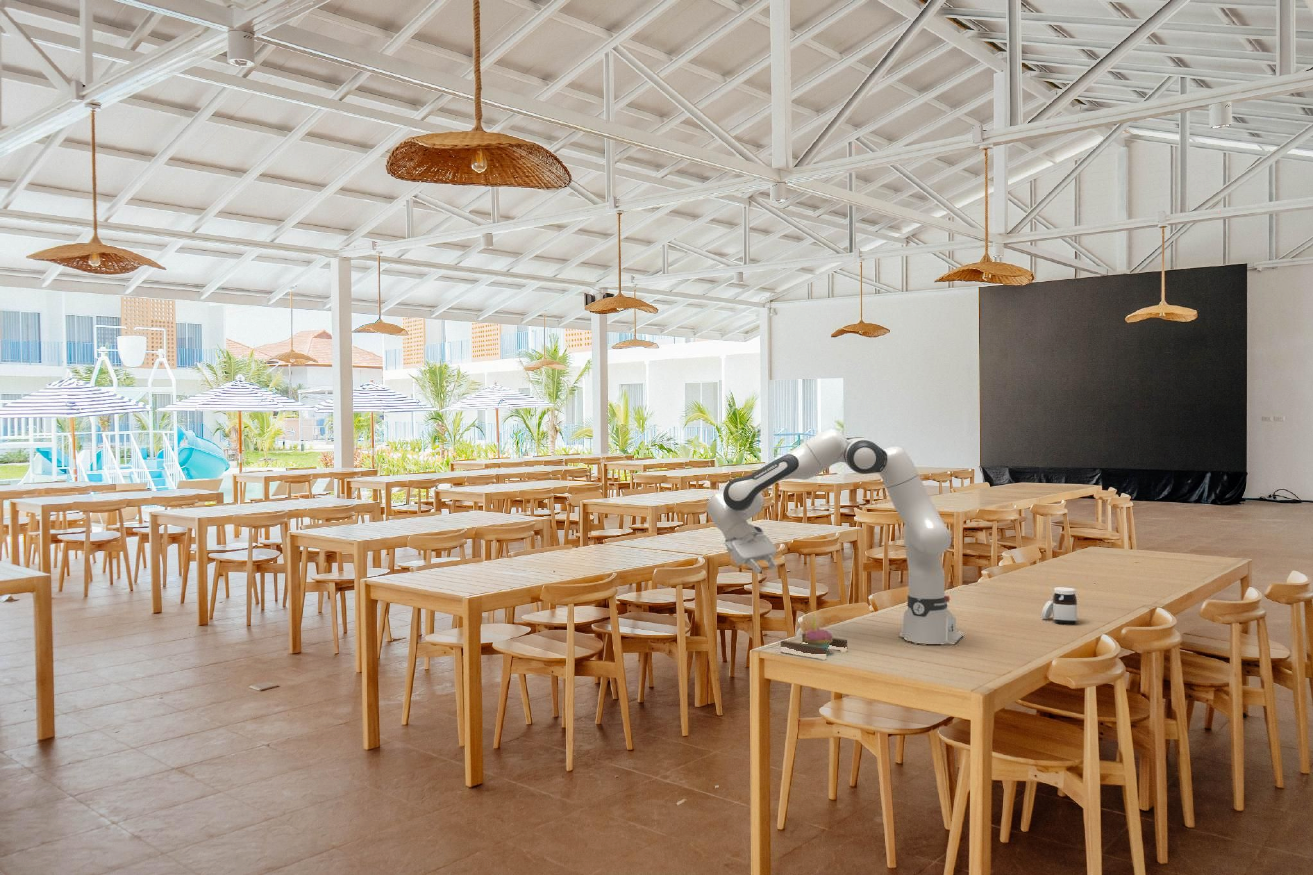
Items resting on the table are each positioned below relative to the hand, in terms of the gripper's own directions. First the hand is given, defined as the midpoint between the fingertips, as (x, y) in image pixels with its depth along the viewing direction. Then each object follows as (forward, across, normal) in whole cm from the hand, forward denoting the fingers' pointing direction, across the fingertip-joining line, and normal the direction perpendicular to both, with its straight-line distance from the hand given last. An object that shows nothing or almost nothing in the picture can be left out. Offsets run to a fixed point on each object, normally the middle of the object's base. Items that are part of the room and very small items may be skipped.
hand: (767, 569), depth 306 cm
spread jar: (+60, +89, -27) cm, 111 cm away
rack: (+29, 0, +5) cm, 29 cm away
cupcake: (+30, 0, +4) cm, 30 cm away
